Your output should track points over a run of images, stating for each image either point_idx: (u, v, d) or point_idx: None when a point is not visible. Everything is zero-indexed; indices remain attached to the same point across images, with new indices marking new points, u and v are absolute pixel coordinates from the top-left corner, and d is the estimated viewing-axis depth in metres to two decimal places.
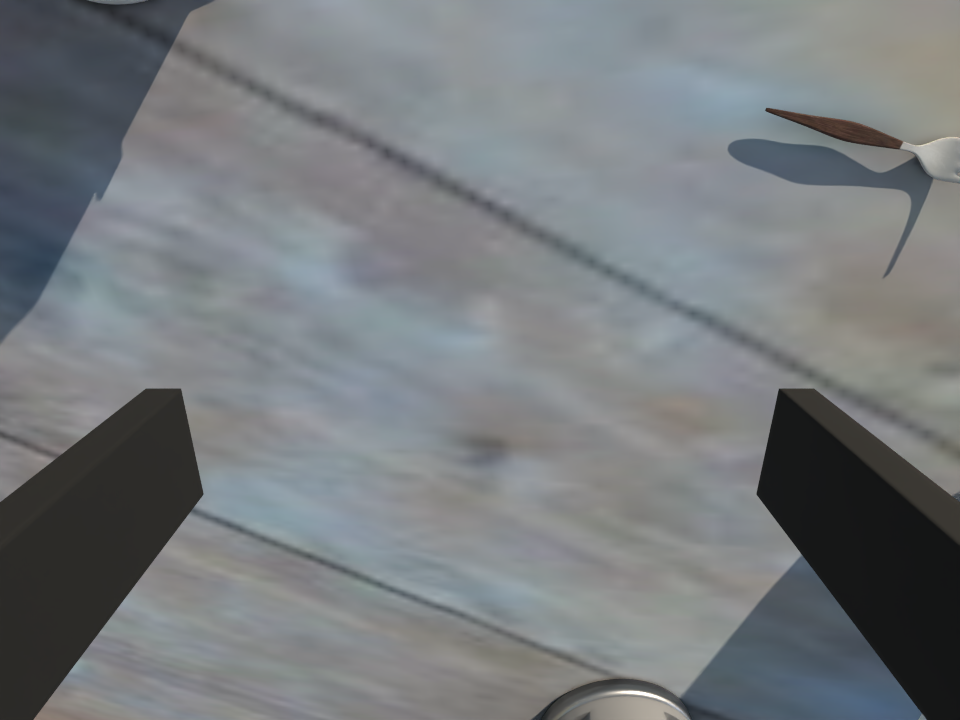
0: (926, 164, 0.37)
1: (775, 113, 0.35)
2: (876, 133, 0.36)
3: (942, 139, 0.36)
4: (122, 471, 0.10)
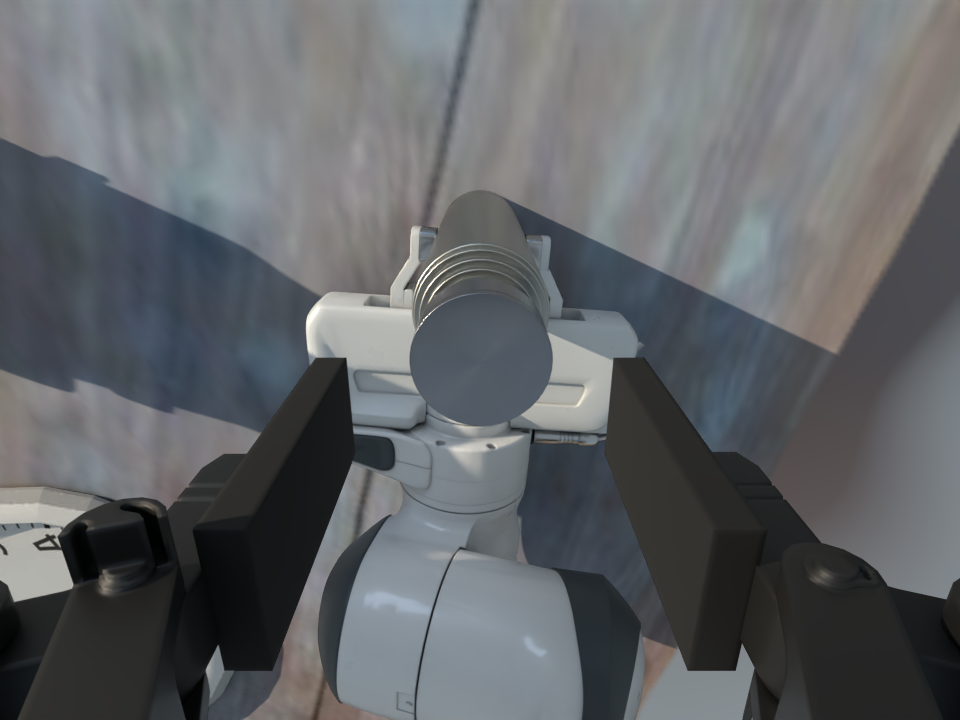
0: None
1: None
2: None
3: None
4: (324, 423, 0.12)
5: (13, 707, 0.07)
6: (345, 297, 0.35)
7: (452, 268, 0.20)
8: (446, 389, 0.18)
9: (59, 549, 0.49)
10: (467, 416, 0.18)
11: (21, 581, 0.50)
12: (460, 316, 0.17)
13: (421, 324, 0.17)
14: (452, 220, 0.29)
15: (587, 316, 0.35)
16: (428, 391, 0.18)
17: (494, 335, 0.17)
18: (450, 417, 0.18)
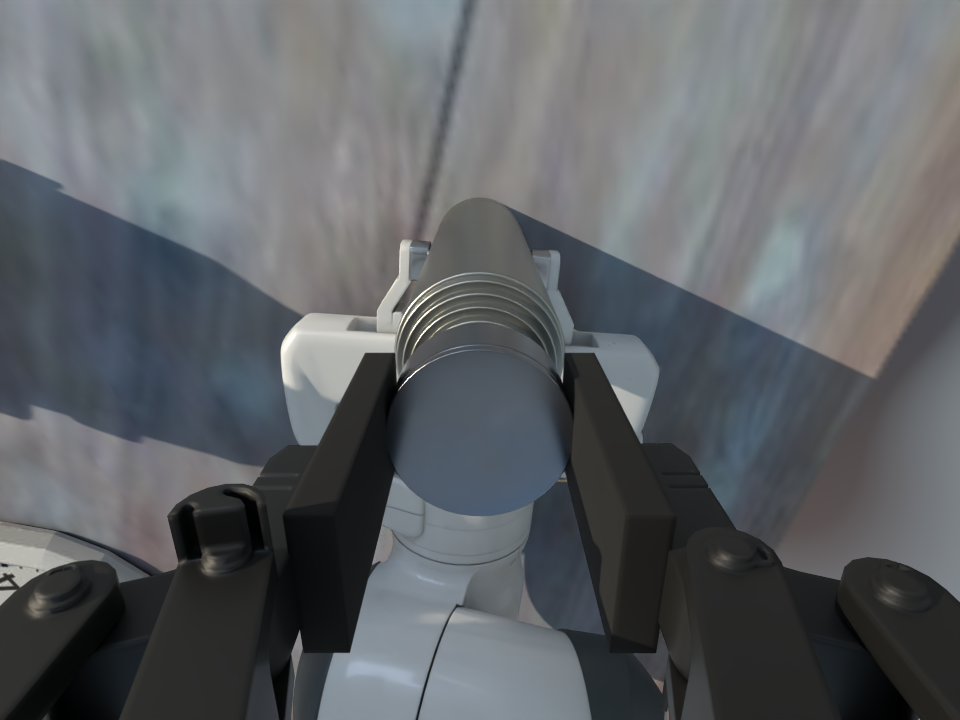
0: None
1: None
2: None
3: None
4: (381, 416, 0.12)
5: (125, 683, 0.07)
6: (326, 320, 0.31)
7: (444, 305, 0.16)
8: (434, 471, 0.13)
9: None
10: (462, 505, 0.14)
11: None
12: (452, 379, 0.13)
13: (400, 390, 0.13)
14: (446, 236, 0.25)
15: (601, 342, 0.31)
16: (410, 474, 0.13)
17: (497, 404, 0.13)
18: (439, 506, 0.14)
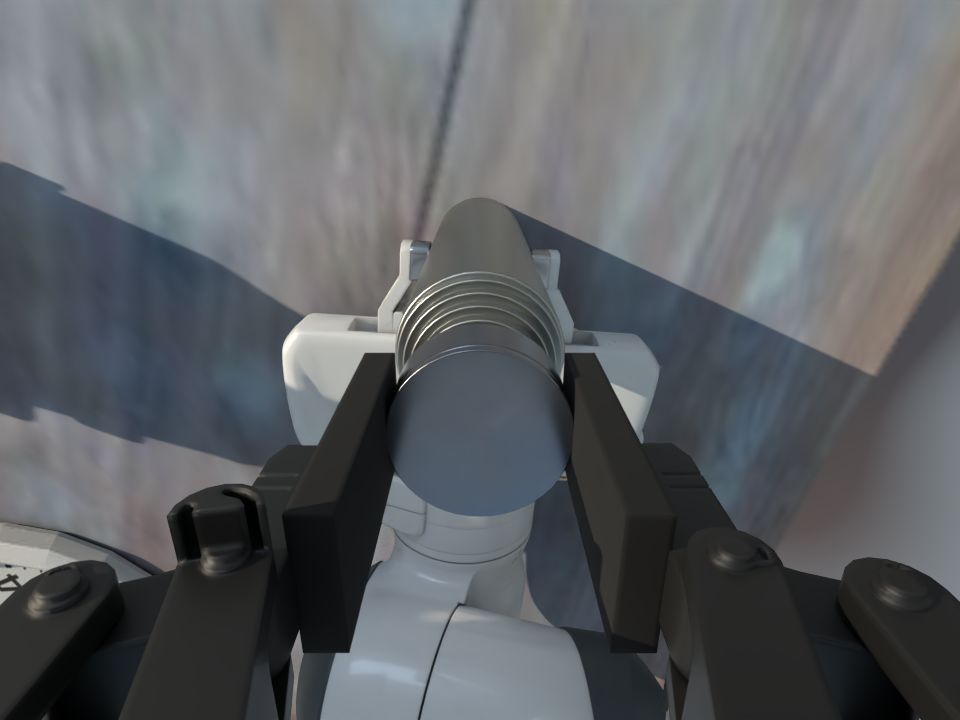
0: None
1: None
2: None
3: None
4: (381, 416, 0.12)
5: (124, 683, 0.07)
6: (327, 321, 0.31)
7: (443, 304, 0.16)
8: (532, 463, 0.13)
9: None
10: (561, 428, 0.13)
11: None
12: (431, 479, 0.13)
13: (459, 513, 0.14)
14: (446, 236, 0.25)
15: (601, 341, 0.31)
16: (542, 481, 0.14)
17: (437, 436, 0.13)
18: (570, 447, 0.13)
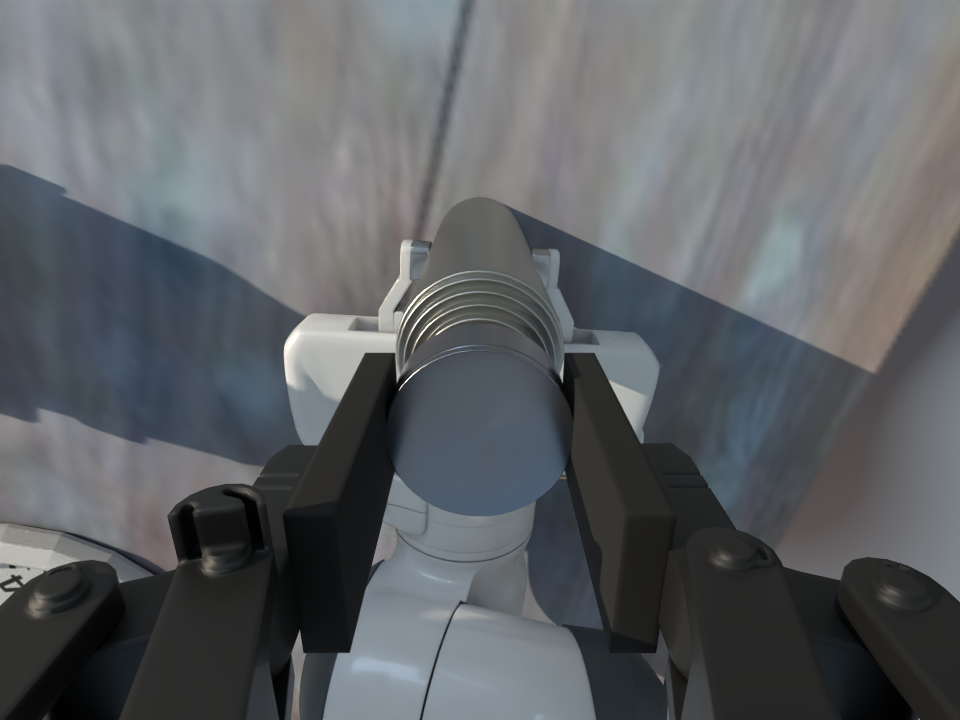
0: None
1: None
2: None
3: None
4: (381, 416, 0.12)
5: (124, 683, 0.07)
6: (328, 321, 0.31)
7: (443, 303, 0.16)
8: (488, 383, 0.13)
9: None
10: (438, 372, 0.12)
11: None
12: (541, 464, 0.13)
13: None
14: (446, 235, 0.25)
15: (601, 339, 0.31)
16: (505, 365, 0.12)
17: (492, 473, 0.13)
18: (454, 355, 0.12)
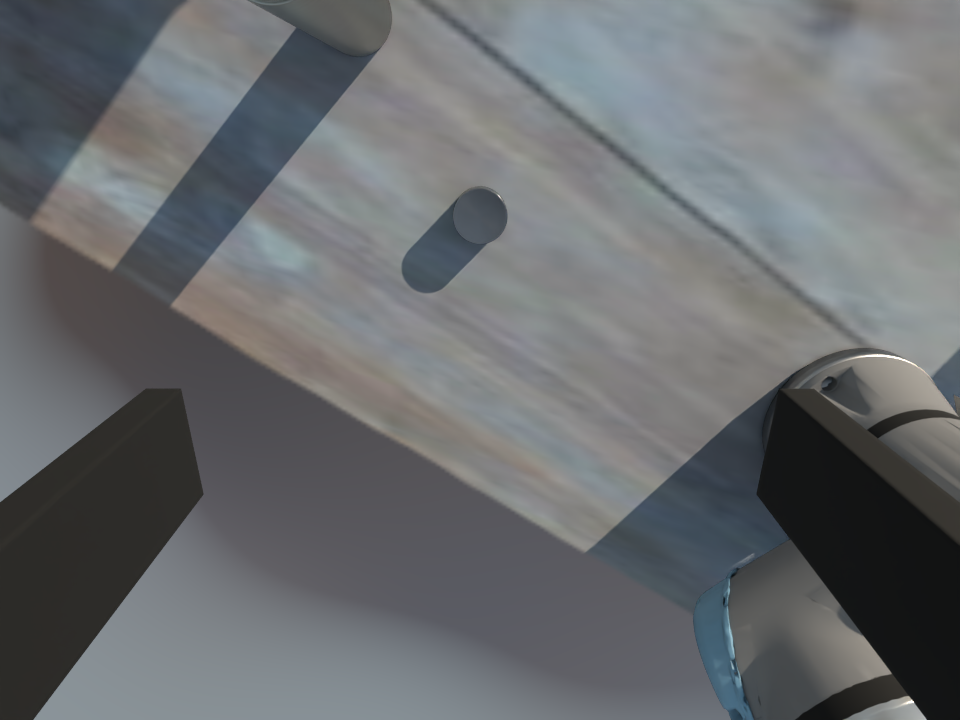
0: None
1: None
2: None
3: None
4: (122, 471, 0.10)
5: None
6: None
7: None
8: (463, 220, 0.46)
9: None
10: (465, 234, 0.46)
11: None
12: (481, 196, 0.45)
13: (467, 192, 0.45)
14: None
15: None
16: (456, 218, 0.46)
17: (489, 209, 0.45)
18: (459, 232, 0.46)
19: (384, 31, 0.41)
